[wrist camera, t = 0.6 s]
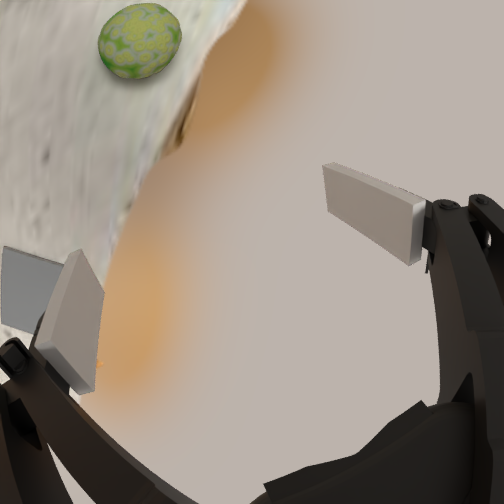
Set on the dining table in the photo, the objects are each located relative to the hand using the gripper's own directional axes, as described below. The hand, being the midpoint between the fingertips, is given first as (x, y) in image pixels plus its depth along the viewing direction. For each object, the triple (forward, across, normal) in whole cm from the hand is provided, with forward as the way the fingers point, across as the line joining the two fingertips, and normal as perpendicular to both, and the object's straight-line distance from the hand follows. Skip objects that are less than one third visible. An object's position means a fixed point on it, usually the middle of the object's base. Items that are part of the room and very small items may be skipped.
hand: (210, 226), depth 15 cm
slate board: (+25, -28, -12) cm, 39 cm away
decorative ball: (+28, -1, +16) cm, 32 cm away
